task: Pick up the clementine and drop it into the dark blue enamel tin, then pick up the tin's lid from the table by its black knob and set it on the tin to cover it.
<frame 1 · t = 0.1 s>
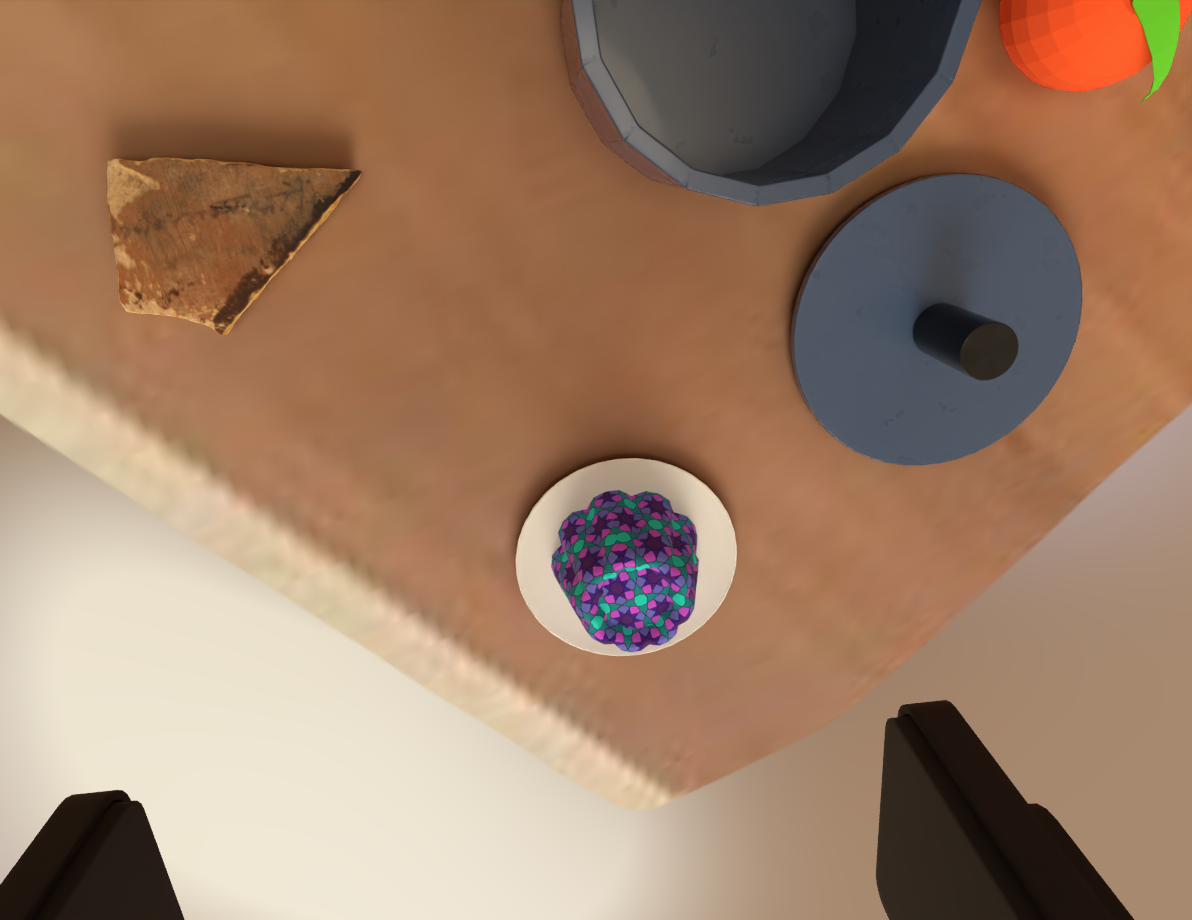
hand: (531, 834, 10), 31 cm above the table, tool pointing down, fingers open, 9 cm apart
shard: (218, 205, 36), on the table
lid: (932, 326, 40), point 1 cm above the table
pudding: (625, 553, 44), on the table
clementine: (1045, 23, 36), on the table
tin: (715, 28, 35), on the table
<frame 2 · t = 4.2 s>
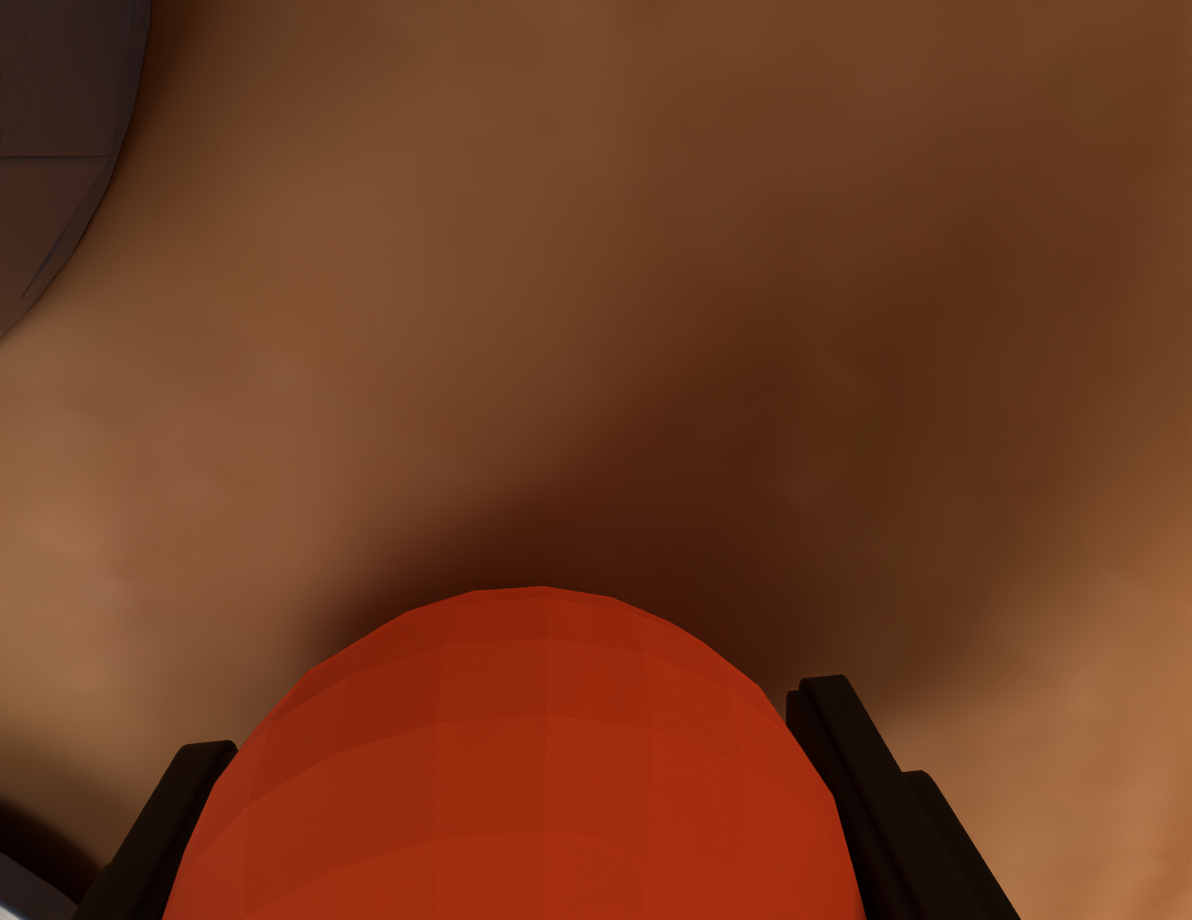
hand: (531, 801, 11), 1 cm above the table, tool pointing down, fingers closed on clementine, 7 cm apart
clementine: (518, 726, 12), on the table, touching gripper
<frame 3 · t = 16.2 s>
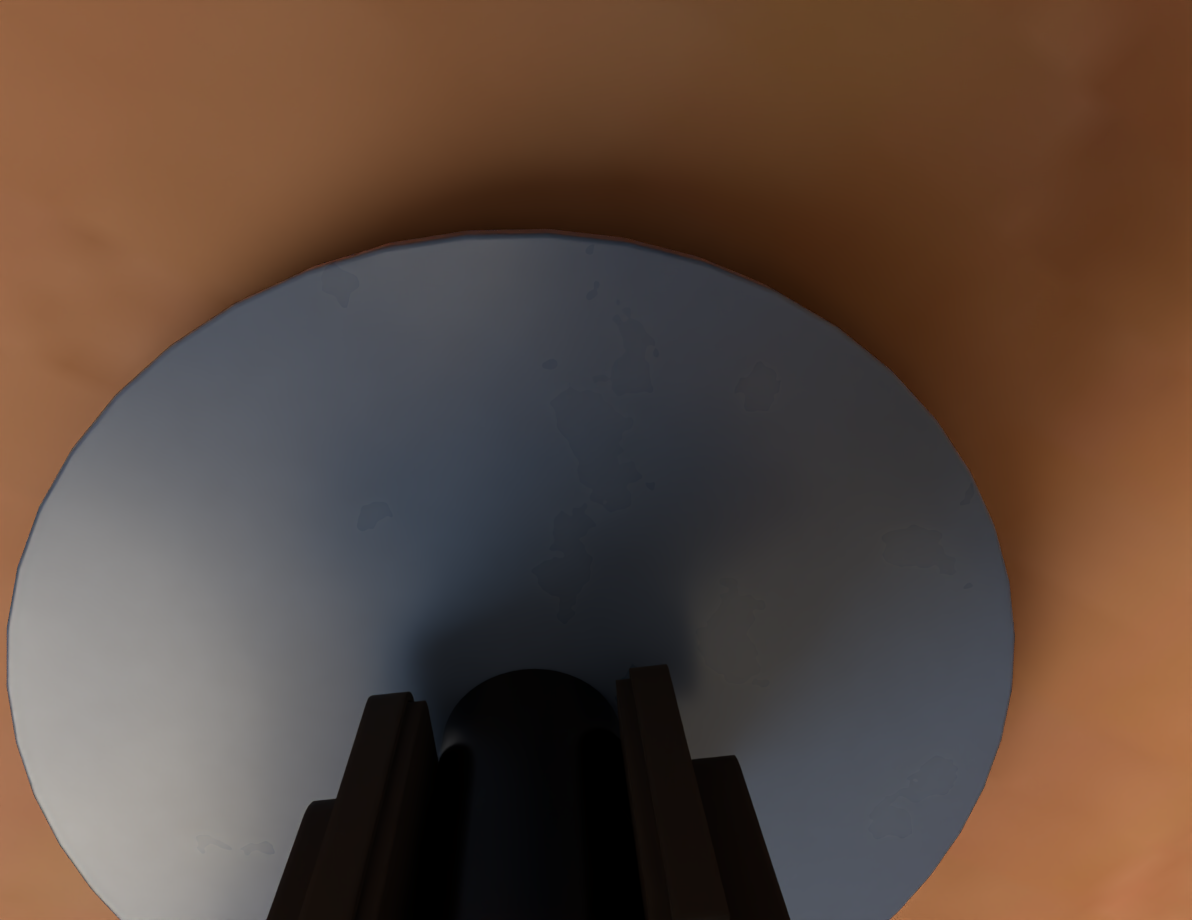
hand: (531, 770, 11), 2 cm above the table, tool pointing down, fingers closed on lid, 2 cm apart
lid: (533, 715, 12), point 1 cm above the table, touching gripper
when the fingers open (11 cm above the table, at t = 23.1 s): lid stays where it is, resting on tin.
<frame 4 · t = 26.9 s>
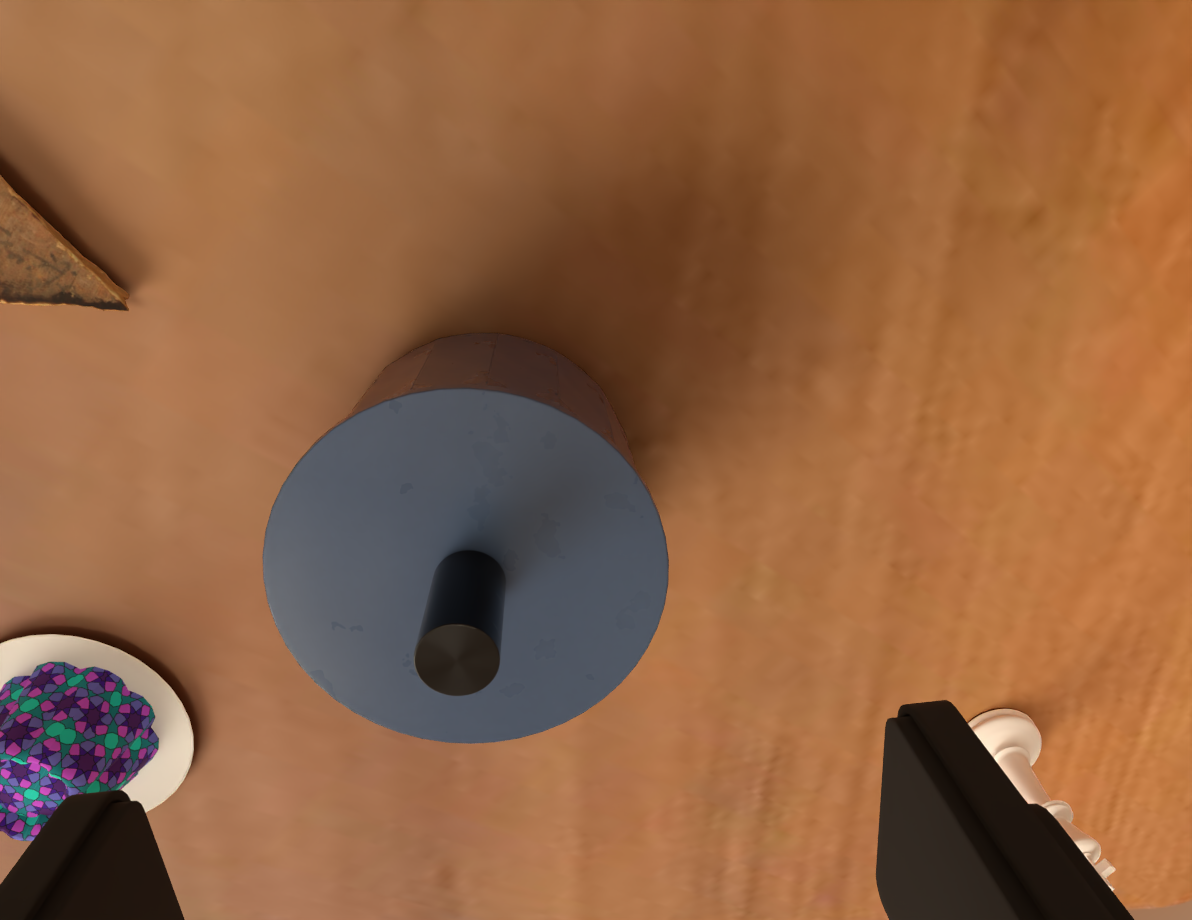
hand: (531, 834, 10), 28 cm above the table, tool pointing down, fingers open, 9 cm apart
lid: (471, 573, 29), point 10 cm above the table, touching tin
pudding: (82, 721, 42), on the table
chess piece: (992, 740, 47), on the table
tin: (488, 470, 39), on the table
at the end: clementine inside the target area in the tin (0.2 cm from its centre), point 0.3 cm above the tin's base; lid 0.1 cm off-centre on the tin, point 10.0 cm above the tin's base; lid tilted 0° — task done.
